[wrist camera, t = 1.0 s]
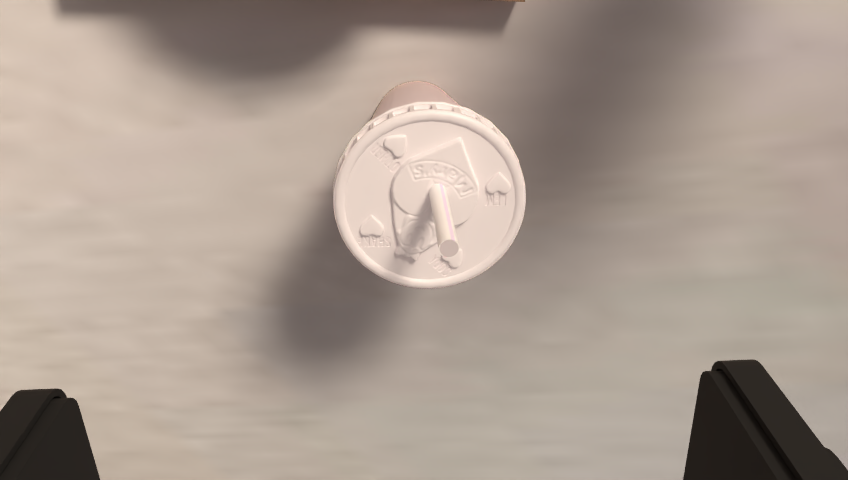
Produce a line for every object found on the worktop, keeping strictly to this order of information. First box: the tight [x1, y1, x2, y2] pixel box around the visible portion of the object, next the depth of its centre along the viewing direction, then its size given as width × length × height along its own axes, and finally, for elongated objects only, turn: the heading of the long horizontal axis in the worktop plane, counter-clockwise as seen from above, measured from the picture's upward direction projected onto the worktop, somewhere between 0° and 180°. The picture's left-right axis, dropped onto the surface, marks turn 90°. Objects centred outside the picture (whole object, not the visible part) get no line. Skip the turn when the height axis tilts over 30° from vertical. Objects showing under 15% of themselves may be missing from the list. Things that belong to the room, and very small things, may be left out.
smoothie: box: [333, 81, 526, 289], centre depth 26 cm, size 6×6×14 cm
